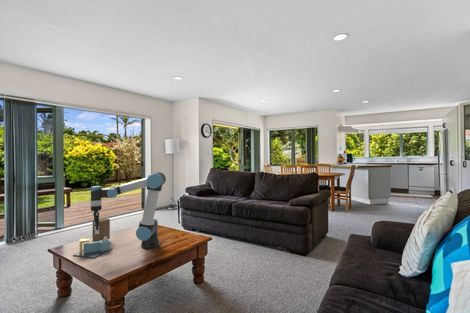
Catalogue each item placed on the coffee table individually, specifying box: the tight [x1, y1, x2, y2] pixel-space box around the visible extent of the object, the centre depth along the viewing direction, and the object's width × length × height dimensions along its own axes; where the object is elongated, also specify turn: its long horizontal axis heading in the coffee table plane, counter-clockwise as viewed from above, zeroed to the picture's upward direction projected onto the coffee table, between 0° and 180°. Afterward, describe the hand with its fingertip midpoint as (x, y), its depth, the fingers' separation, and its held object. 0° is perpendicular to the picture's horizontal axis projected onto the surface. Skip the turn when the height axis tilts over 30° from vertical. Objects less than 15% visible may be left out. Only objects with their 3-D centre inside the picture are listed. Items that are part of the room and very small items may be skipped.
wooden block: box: [91, 217, 111, 242], centre depth 221 cm, size 10×10×20 cm
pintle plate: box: [72, 237, 113, 259], centre depth 197 cm, size 20×20×11 cm
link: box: [82, 239, 111, 254], centre depth 198 cm, size 18×7×7 cm, turn 122°
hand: (96, 231), depth 198 cm, fingers open, 13 cm apart
